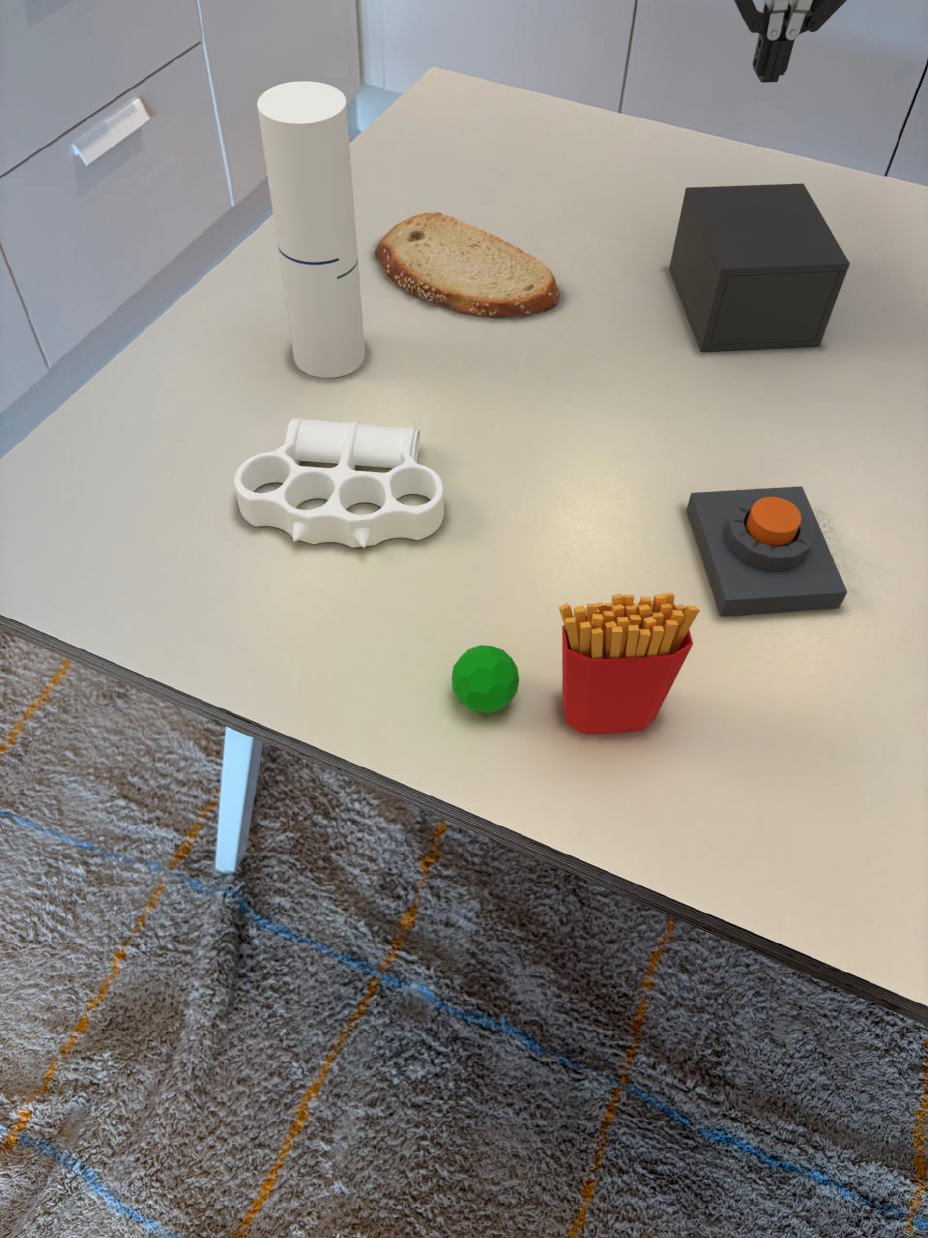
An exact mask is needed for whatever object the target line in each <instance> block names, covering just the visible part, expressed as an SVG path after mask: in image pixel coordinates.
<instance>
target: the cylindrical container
mask: <svg viewBox="0 0 928 1238" xmlns="http://www.w3.org/2000/svg"><path fill="white" fill-rule="evenodd" d="M256 105H257V106H256V107H257V112H258V113H257V114H258V119H259V127H260V134H261V141H262V148H263V154H264V161H265V167H266V169H265V170H266V175H267V182H268V188H269V189H268V190H269V195H270V203H271V210H272V217H273V223H274V230H275V237H276V244H277V251H278V257H279V258H278V259H279V264H280V271H281V272H280V273H281V278H282V286H283V292H284V297H285V298H284V299H285V306H286V313H287V320H288V327H289V334H290V340H291V347H292V355H293V361H294V363H295V365H296V367H297V368H298V369H299V370H300V371H302V372H303V373H305V374H306V375H309V376H311V377H316V378H321V379H334V378H340V377H344V376H347V375H349V374H351V373H353V372H355V371H356V370H358V369H359V368H360V367H361V366H362V364H363V363H364V361H365V357H366V349H365V336H364V335H365V334H364V323H363V322H364V321H363V309H362V295H361V281H360V267H359V266H360V265H359V255H358V242H357V240H358V239H357V227H356V214H355V203H354V189H353V175H352V163H351V160H352V159H351V148H350V134H349V121H348V109H347V98H346V96H345V94H344V93H343V92H342V90H340V89H338V88H337V87H335V86H332V85H330V84H327V83H322V82H318V81H308V80H303V81H291V82H285V83H281V84H278V85H275V86H273V87H270V88H268V89H267V90H266V91H264V92H262V93H261V95H260V96H259V97H258V99H257V104H256Z"/></svg>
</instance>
